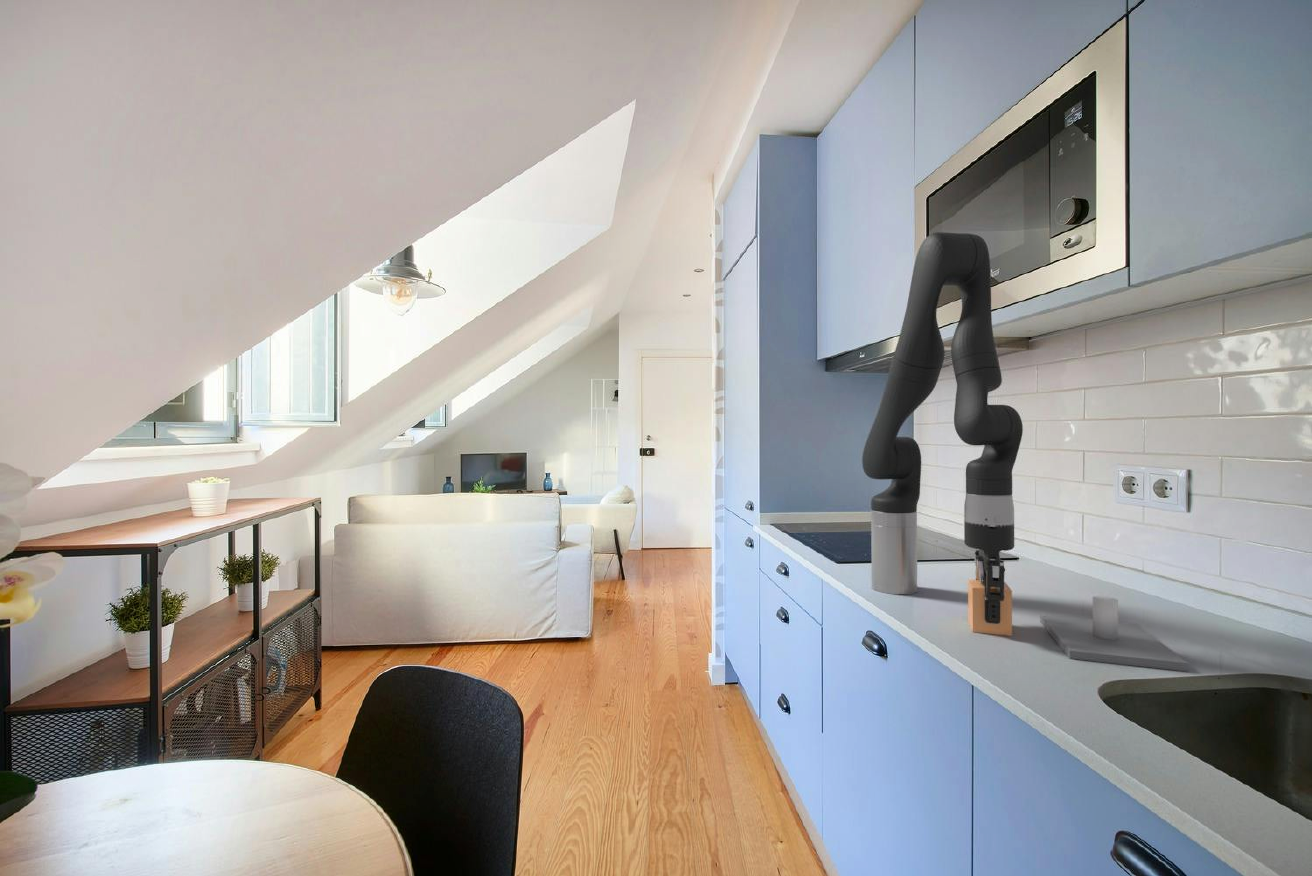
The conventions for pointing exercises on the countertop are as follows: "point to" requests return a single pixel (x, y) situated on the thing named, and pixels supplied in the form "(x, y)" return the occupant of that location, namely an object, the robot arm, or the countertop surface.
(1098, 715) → the countertop surface
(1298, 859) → the countertop surface
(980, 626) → the peach foam cube
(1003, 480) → the robot arm
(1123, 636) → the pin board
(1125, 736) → the countertop surface
